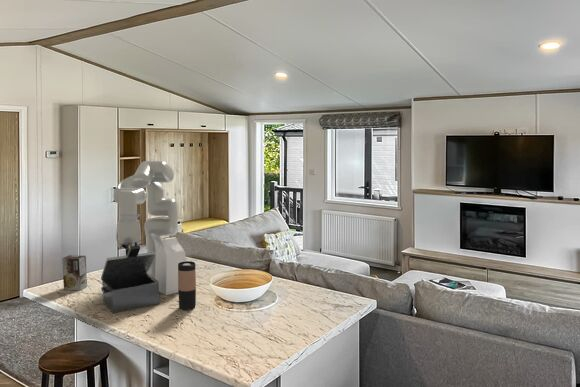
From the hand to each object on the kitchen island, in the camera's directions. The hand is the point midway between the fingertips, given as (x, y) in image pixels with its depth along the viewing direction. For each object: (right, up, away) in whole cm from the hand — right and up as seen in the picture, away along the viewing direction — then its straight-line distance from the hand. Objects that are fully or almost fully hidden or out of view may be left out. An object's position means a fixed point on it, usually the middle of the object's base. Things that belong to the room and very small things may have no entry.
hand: (129, 257), depth 202 cm
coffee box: (-35, -19, +22) cm, 45 cm away
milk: (+13, -19, +22) cm, 32 cm away
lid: (0, -2, 0) cm, 2 cm away
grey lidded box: (0, -21, +2) cm, 21 cm away
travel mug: (+27, -22, -3) cm, 35 cm away
